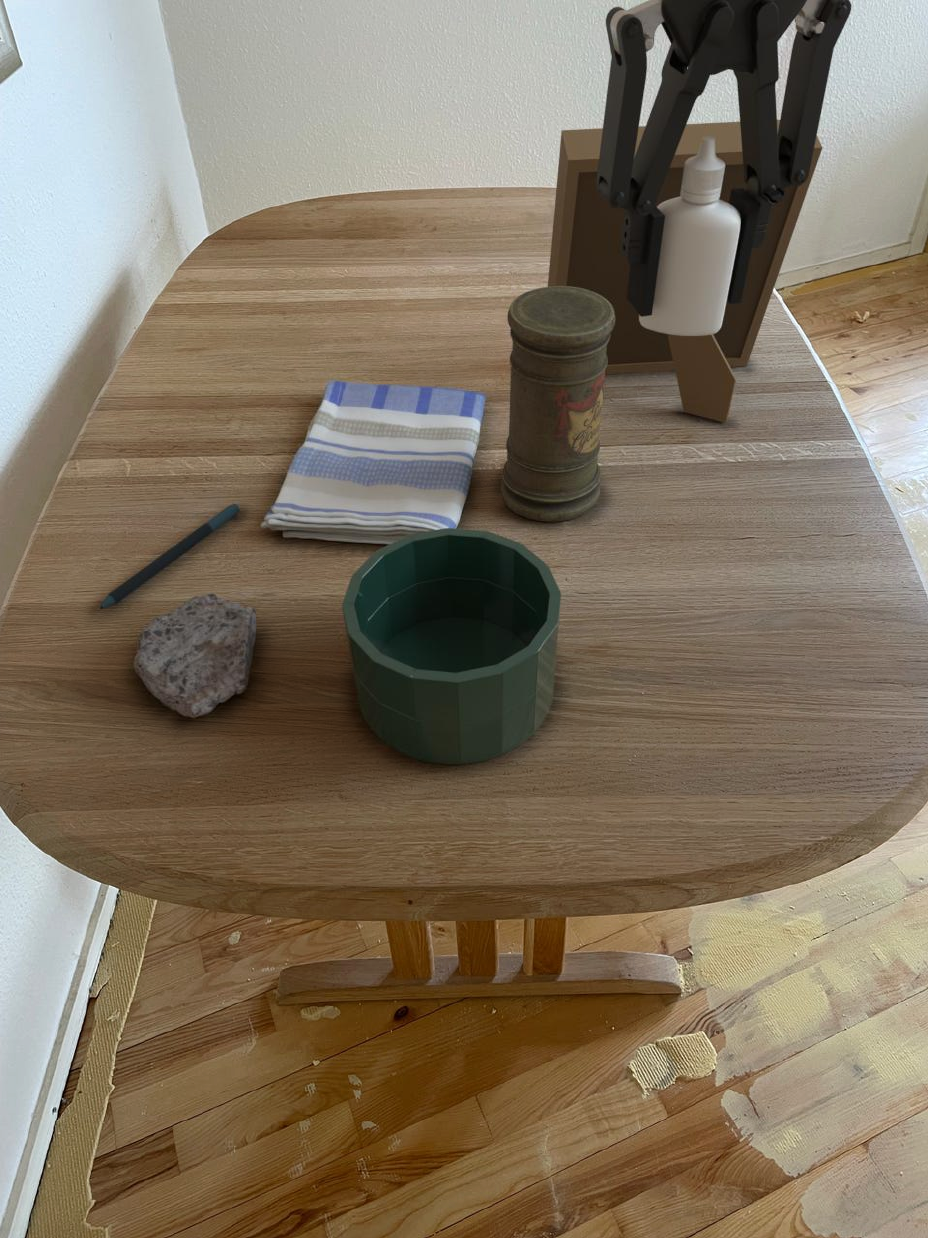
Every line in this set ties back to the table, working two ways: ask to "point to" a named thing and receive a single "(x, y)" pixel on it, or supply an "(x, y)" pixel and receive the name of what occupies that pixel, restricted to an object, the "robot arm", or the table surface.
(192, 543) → the pen
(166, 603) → the table surface
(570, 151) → the photo frame
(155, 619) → the rock
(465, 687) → the pot
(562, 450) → the container
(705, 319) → the eye dropper bottle
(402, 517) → the dish towel
